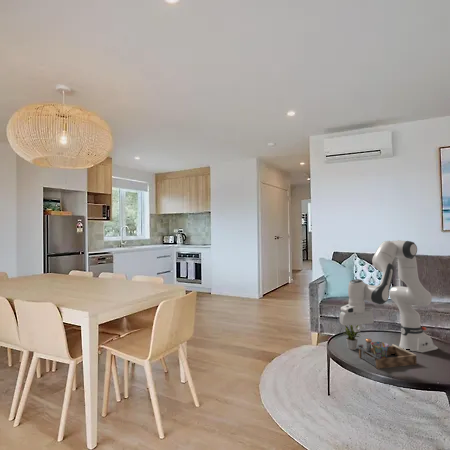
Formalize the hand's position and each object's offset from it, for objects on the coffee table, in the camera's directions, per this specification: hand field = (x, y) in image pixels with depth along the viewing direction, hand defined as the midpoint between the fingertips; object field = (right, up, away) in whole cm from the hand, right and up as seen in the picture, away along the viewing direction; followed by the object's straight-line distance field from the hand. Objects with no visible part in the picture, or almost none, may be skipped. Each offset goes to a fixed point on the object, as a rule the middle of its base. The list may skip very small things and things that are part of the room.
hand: (357, 331), depth 192 cm
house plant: (+8, -19, +25) cm, 32 cm away
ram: (+7, -18, +1) cm, 19 cm away
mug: (+14, -18, +2) cm, 24 cm away
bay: (+18, -18, +3) cm, 26 cm away
